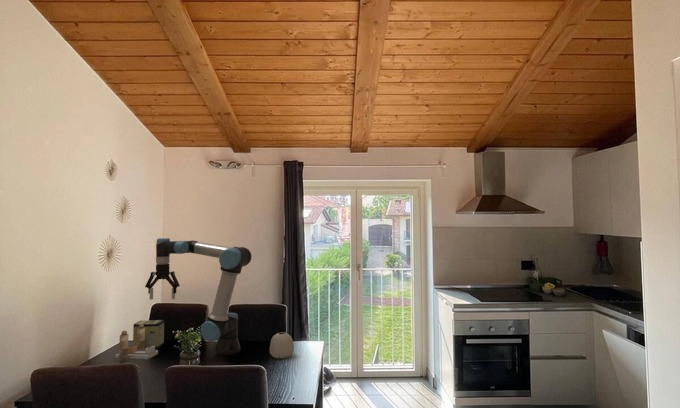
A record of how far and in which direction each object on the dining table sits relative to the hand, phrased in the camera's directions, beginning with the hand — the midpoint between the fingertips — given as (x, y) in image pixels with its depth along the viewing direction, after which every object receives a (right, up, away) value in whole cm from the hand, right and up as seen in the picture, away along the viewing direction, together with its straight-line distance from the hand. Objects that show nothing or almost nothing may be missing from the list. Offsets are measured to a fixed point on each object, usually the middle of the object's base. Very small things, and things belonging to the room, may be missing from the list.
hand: (162, 299), depth 233 cm
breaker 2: (-4, -29, -7) cm, 30 cm away
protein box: (-14, -33, +12) cm, 38 cm away
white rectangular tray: (-12, -32, -7) cm, 34 cm away
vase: (+73, -31, -9) cm, 80 cm away
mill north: (-16, -31, -14) cm, 38 cm away
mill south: (-14, -32, +2) cm, 35 cm away
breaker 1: (-15, -29, -6) cm, 33 cm away
